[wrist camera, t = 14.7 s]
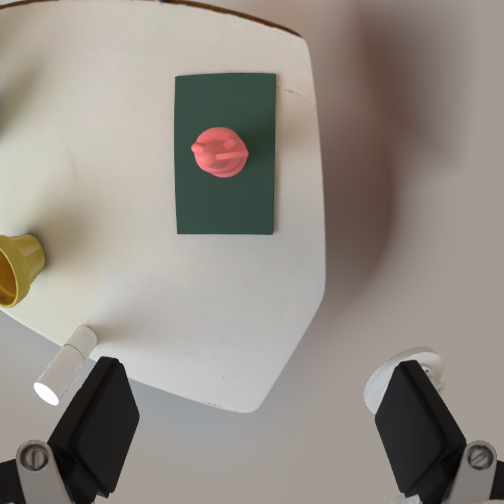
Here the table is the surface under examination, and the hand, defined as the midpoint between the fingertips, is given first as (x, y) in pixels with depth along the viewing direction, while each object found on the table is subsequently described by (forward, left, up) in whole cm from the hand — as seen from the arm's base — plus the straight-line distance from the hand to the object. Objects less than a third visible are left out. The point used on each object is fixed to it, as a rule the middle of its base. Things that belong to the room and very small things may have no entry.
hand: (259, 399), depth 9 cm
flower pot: (+36, +6, -29) cm, 47 cm away
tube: (+28, +21, -29) cm, 46 cm away
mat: (+4, -7, -29) cm, 30 cm away
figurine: (+3, -7, -29) cm, 30 cm away
